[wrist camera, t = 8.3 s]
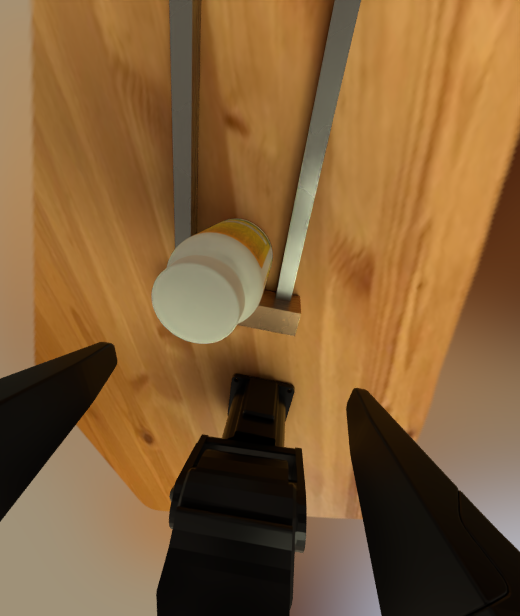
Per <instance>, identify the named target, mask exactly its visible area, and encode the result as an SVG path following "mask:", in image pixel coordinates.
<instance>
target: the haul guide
mask: <svg viewBox="0 0 520 616" xmlns="http://www.w3.org/2000/svg"><path fill="white" fill-rule="evenodd" d="M360 2H361V0H335V1H334V6H333V11H332V16H331V21H330V26H329V31H328V36H327V41H326V46H325V51H324V56H323V61H322V66H321V71H320V76H319V81H318V86H317V91H316V96H315V101H314V106H313V111H312V116H311V121H310V126H309V132H308V137H307V142H306V147H305V152H304V157H303V162H302V167H301V172H300V177H299V182H298V187H297V192H296V197H295V202H294V207H293V212H292V217H291V222H290V227H289V232H288V237H287V242H286V247H285V252H284V257H283V262H282V267H281V272H280V277H279V282H278V287H277V292H273V291H268V290H264V292H263V295H262V298H261V300H260V303H259V305H258V307H257V308H256V310H255V311H254V312H253V313H252V315H251V316H249V317H248V318H247V319H246V320H244V321H243V322H241V323H239V324H237V325H240V326H245V327H251V328H256V329H261V330H266V331H271V332H276V333H281V334H286V335H291V336H295V334H296V331H297V327H298V323H299V319H300V316H301V305H300V296H294V295H292V292H293V288H294V284H295V279H296V275H297V271H298V267H299V262H300V258H301V254H302V250H303V245H304V241H305V237H306V232H307V228H308V224H309V220H310V215H311V211H312V207H313V203H314V198H315V194H316V190H317V186H318V181H319V177H320V173H321V169H322V164H323V160H324V156H325V151H326V147H327V143H328V139H329V134H330V130H331V126H332V122H333V117H334V113H335V109H336V105H337V100H338V96H339V92H340V88H341V83H342V79H343V75H344V71H345V66H346V62H347V58H348V53H349V49H350V45H351V41H352V36H353V32H354V28H355V24H356V19H357V15H358V11H359V7H360ZM169 7H170V49H171V92H172V134H173V176H174V218H175V249H176V247H177V246H178V245H179V244H180V243H182V242H183V241H184V240H186V239H187V238H189V237H191V236H193V235H195V234H197V182H198V129H199V76H200V23H201V0H169Z"/></svg>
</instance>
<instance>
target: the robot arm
mask: <svg viewBox="0 0 520 616" xmlns="http://www.w3.org/2000/svg"><path fill="white" fill-rule="evenodd" d="M116 365H117V356H116V351H115V347H114V345H113V344H112V343H107V342H99V343H97V344H94V345H91V346H88V347H86V348H83V349H80V350H77V351H75V352H72V353H69V354H66V355H64V356H61V357H58V358H55V359H53V360H50V361H47V362H44V363H42V364H39V365H36V366H33V367H31V368H28V369H25V370H23V371H20V372H17V373H15V374H12V375H9V376H6V377H3V378H1V379H0V521H1V520H2V519H3V518H4V516H5V515H6V513H7V512H8V511H9V510H10V509H11V507H12V506H13V505H14V503H15V502H16V501H17V499H18V498H19V497H20V496H21V494H22V493H23V492H24V491H25V489H26V488H27V487H28V485H29V484H30V483H31V481H32V480H33V479H34V478H35V476H36V475H37V474H38V473H39V471H40V470H41V469H42V467H43V466H44V465H45V464H46V462H47V461H48V460H49V458H50V457H51V456H52V454H53V453H54V452H55V451H56V449H57V448H58V447H59V446H60V444H61V443H62V442H63V440H64V439H65V438H66V437H67V435H68V434H69V433H70V431H71V430H72V429H73V427H74V426H75V425H76V424H77V422H78V421H79V420H80V419H81V417H82V416H83V415H84V413H85V412H86V411H87V410H88V408H89V407H90V406H91V404H92V403H93V401H94V400H95V398H96V397H97V395H98V394H99V392H100V391H101V389H102V388H103V386H104V384H105V383H106V381H107V380H108V378H109V377H110V375H111V373H112V372H113V370H114V369H115V367H116ZM236 378H237V379H236ZM288 389H290V390H288ZM293 395H294V386H293V385H290V384H285V383H280V382H275V381H270V380H265V379H260V378H255V377H251V376H246V375H241V374H234V375H233V378H232V383H231V391H230V399H229V407H228V419H227V422H226V426H225V429H224V433H223V436H222V438H216V437H209V436H208V435H203V434H202V435H201V437H200V439H199V441H198V443H196V445H195V447H194V448H193V450H192V452H191V454H190V456H189V458H188V460H187V461H186V463H185V465H184V467H183V469H182V471H181V473H180V474H179V476H178V478H177V480H176V482H175V485H174V486H173V488H172V489H171V492H170V500H171V507H170V514H169V526H170V528H171V529H173V530H172V535H171V539H170V544H169V548H168V552H167V556H166V560H165V563H164V567H163V571H162V574H161V578H160V581H159V584H158V588H157V594H156V596H157V616H289V611H290V608H291V605H292V599H293V576H294V554H295V552H300V553H303V552H304V549H305V541H306V540H305V539H306V490H305V479H304V468H303V457H302V448H296V447H295V449H294V448H287V447H284V438H285V421H286V418H287V415H288V411H289V408H290V405H291V402H292V398H293ZM346 411H347V423H348V435H349V446H350V455H351V461H352V466H353V471H354V476H355V481H356V486H357V491H358V497H359V502H360V507H361V512H362V517H363V522H364V527H365V533H366V537H367V543H368V548H369V553H370V558H371V563H372V569H373V574H374V579H375V584H376V589H377V594H378V599H379V604H380V610H381V615H382V616H520V552H519V551H518V549H517V548H515V547H514V545H513V544H511V542H510V541H508V540H507V539H506V538H505V537H504V536H503V535H502V534H501V533H500V532H499V531H498V530H497V529H496V528H495V526H493V524H492V523H491V522H490V521H489V520H488V519H487V518H486V517H485V516H484V515H483V514H482V513H481V512H480V511H479V510H478V509H477V508H476V507H475V506H474V505H473V503H472V502H470V500H469V499H468V498H467V497H466V496H465V495H464V494H463V493H462V492H461V491H459V490H458V488H457V486H456V485H455V484H454V483H453V482H452V481H451V480H450V479H449V478H448V477H447V476H446V475H445V474H444V472H443V471H442V470H441V469H440V468H439V467H438V466H437V465H436V464H435V463H434V462H433V461H432V460H431V458H430V457H429V456H428V455H427V454H426V453H425V452H424V451H423V450H422V449H421V448H420V447H419V446H418V445H417V443H416V442H415V441H414V440H413V439H412V438H411V437H410V436H409V435H408V434H407V433H406V432H405V431H404V429H403V428H402V427H401V426H400V425H399V424H398V423H397V422H396V421H395V420H394V419H393V418H392V417H391V416H390V414H389V413H388V412H387V411H386V410H385V409H384V408H383V407H382V406H381V405H380V404H379V403H378V402H377V400H376V399H375V398H374V397H373V396H372V395H371V394H370V393H369V392H368V391H367V390H365V389H360V388H354V389H353V391H352V393H351V395H350V398H349V400H348V402H347V407H346Z"/></svg>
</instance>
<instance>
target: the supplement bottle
mask: <svg viewBox="0 0 520 616" xmlns="http://www.w3.org/2000/svg"><path fill="white" fill-rule="evenodd" d="M272 258H273V253H272V247H271V244H270V241H269V239H268V237H267V236H266V234H265V233H264V232H263V231H262V230H261V229H260V228H259V227H258V226H257V225H255V224H254V223H252V222H250V221H247V220H244V219H228V220H225V221H222V222H220V223H218V224H216V225H214V226H212V227H210V228H208V229H206V230H204V231H202V232H200V233H197V234H195V235H193V236H191V237H189V238H187V239H186V240H184V241H183V242H182V243H180V244H179V245H178V246H177V247H176V249H175V250H174V251H173V253H172V254H171V256H170V258H169V261H168V264H167V268H166V269H165V270H164V271H162V272H161V273H160V274H159V276H158V277H157V279H156V280H155V282H154V285H153V288H152V304H153V308H154V311H155V313H156V315H157V317H158V318H159V320H160V321H161V323H162V324H163V325H164V326H165V327H166V328H167V329H168V330H169V331H170V332H172V333H173V334H174V335H176V336H177V337H179V338H181V339H183V340H186V341H189V342H193V343H199V344H209V343H214V342H218V341H220V340H222V339H224V338H225V337H227V336H228V335H229V334H230V333H231V332H232V331H233V330H234V329H235V327H236V325H237V324H239V323H241V322H243V321H244V320H246V319H247V318H248V317H249V316H251V315H252V313H253V312H254V311H255V310H256V308H257V307H258V305H259V303H260V300H261V298H262V295H263V292H264V288H265V285H266V281H267V278H268V275H269V272H270V268H271V264H272Z"/></svg>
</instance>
